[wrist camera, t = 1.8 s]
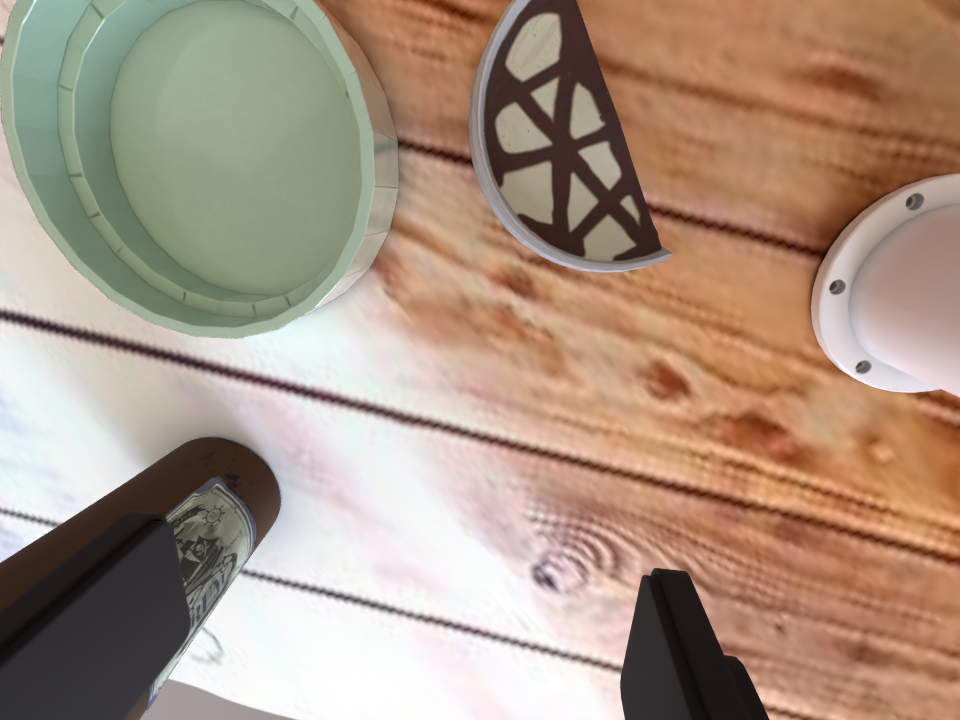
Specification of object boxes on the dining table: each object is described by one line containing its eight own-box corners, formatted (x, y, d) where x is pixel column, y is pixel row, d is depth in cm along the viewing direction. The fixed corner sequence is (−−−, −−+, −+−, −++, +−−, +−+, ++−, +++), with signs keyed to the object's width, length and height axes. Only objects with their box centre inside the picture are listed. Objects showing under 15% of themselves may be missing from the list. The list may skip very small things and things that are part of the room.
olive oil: (194, 553, 39) (-290, 1078, 16) (135, 443, 36) (-575, 892, 13) (309, 533, 38) (-42, 1087, 14) (257, 416, 35) (-301, 876, 11)
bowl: (396, -31, 25) (363, -91, 20) (404, 322, 31) (381, 346, 26) (57, -29, 27) (-56, -85, 21) (130, 309, 33) (57, 329, 28)
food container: (447, 88, 27) (406, 27, 17) (548, 31, 25) (564, -68, 16) (532, 286, 30) (537, 325, 20) (626, 244, 29) (677, 267, 19)
